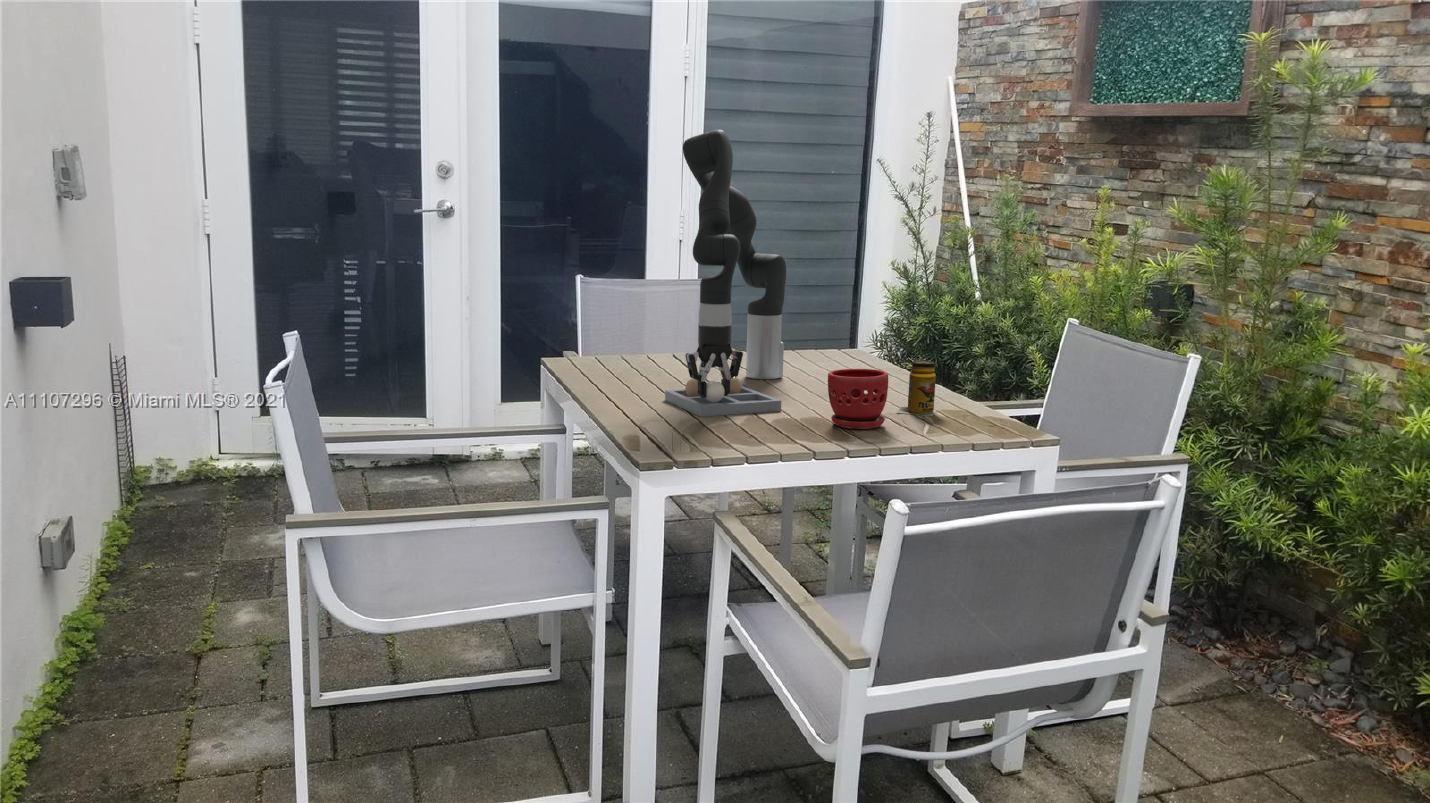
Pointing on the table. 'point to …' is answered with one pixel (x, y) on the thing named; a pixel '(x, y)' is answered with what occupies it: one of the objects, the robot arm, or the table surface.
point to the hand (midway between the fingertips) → (713, 396)
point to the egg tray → (725, 403)
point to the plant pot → (858, 397)
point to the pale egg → (714, 391)
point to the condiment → (921, 389)
